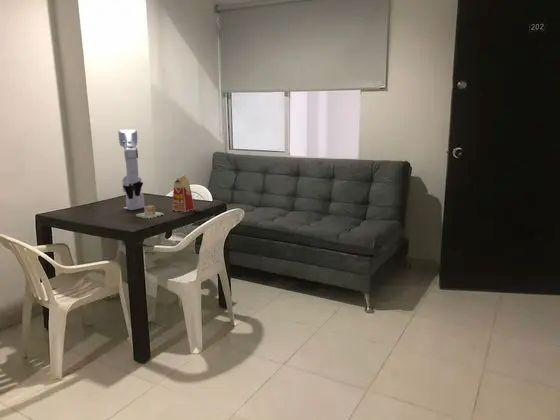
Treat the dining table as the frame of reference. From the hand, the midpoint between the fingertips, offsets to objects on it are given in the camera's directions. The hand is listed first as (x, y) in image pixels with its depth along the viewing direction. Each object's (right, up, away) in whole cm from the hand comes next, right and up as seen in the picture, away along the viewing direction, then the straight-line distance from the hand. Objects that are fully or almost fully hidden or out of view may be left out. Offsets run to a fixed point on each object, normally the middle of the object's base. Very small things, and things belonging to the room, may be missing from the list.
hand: (134, 197), depth 245 cm
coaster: (+8, -10, +1) cm, 13 cm away
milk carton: (+23, -7, +13) cm, 28 cm away
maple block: (+8, -9, 0) cm, 12 cm away
